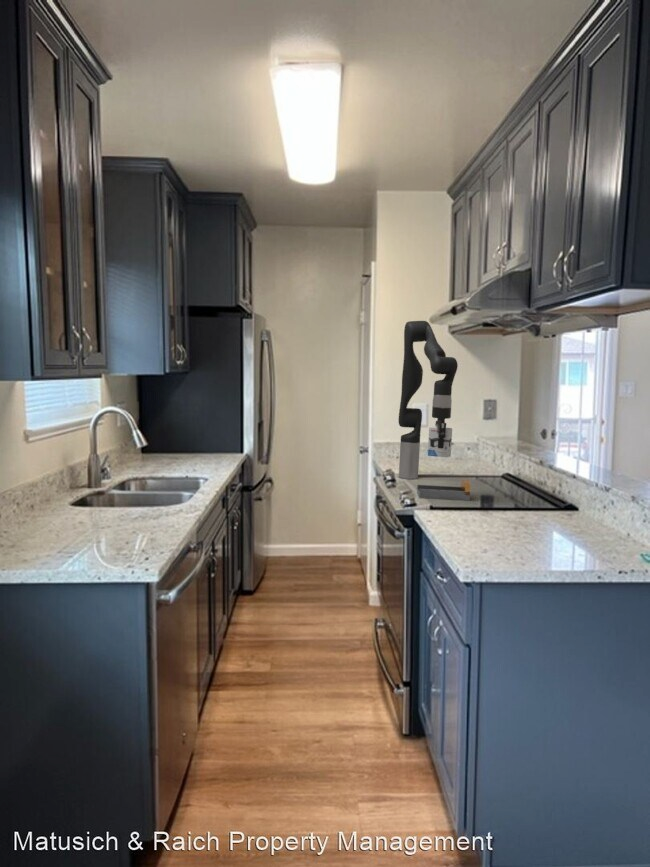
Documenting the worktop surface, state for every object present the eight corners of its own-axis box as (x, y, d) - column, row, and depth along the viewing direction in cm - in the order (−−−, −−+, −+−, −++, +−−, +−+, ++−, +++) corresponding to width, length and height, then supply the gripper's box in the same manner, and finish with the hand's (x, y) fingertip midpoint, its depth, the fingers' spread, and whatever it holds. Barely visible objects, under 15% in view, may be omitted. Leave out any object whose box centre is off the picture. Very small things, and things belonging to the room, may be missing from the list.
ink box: (427, 455, 244) (428, 427, 243) (430, 454, 248) (432, 426, 247) (447, 457, 240) (449, 428, 239) (450, 456, 244) (452, 428, 243)
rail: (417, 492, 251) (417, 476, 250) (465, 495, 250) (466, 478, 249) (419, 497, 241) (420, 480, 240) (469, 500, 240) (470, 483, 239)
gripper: (430, 405, 249) (428, 445, 251) (434, 406, 235) (432, 448, 237) (448, 406, 249) (446, 445, 250) (453, 407, 235) (451, 449, 236)
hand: (439, 447), depth 244 cm, fingers closed on ink box, 6 cm apart
